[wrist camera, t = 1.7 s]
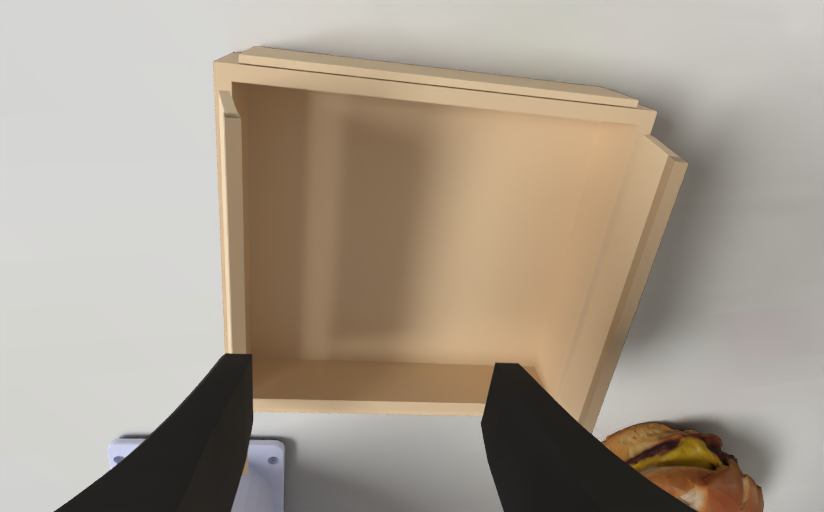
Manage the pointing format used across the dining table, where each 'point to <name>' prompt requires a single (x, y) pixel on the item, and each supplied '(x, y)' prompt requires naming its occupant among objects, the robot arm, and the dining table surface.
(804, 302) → the dining table surface
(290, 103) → the carton
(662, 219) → the flap
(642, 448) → the burger
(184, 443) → the robot arm
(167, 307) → the dining table surface
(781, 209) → the dining table surface
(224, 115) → the flap
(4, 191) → the dining table surface
